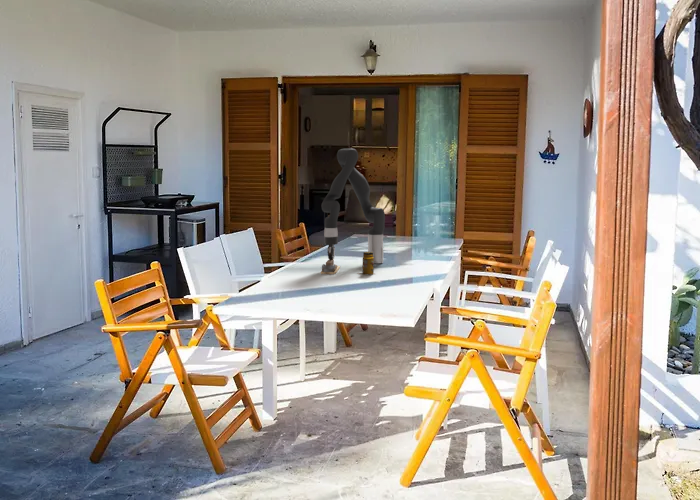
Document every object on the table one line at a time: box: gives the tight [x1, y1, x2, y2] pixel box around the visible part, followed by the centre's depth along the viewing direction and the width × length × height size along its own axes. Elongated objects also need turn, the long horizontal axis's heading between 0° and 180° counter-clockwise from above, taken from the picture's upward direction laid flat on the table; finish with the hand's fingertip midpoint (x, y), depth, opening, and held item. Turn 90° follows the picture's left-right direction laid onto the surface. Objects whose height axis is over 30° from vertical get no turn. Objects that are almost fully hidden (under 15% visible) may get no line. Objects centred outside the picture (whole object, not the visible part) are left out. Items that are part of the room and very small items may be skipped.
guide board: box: [320, 263, 341, 275], centre depth 391 cm, size 8×22×4 cm, turn 174°
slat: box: [325, 259, 335, 265], centre depth 387 cm, size 10×3×5 cm, turn 173°
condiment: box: [356, 251, 375, 276], centre depth 379 cm, size 7×8×12 cm
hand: (331, 265), depth 394 cm, fingers closed
